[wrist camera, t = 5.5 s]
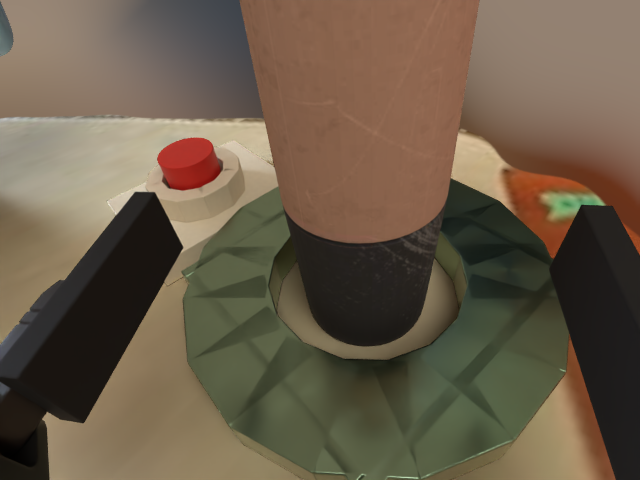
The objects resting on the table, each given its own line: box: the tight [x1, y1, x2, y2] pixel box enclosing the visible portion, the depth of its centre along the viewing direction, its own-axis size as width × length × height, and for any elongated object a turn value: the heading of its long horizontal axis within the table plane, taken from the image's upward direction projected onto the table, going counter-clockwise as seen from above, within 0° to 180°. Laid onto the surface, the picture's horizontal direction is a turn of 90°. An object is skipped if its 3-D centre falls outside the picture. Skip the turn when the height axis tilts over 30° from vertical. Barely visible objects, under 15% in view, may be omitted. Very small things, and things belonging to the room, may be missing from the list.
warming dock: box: [181, 178, 569, 480], centre depth 23 cm, size 21×21×2 cm
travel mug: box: [240, 0, 479, 346], centre depth 17 cm, size 8×8×20 cm
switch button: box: [157, 138, 221, 191], centre depth 28 cm, size 4×4×2 cm
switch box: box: [107, 140, 278, 286], centre depth 30 cm, size 10×12×4 cm
